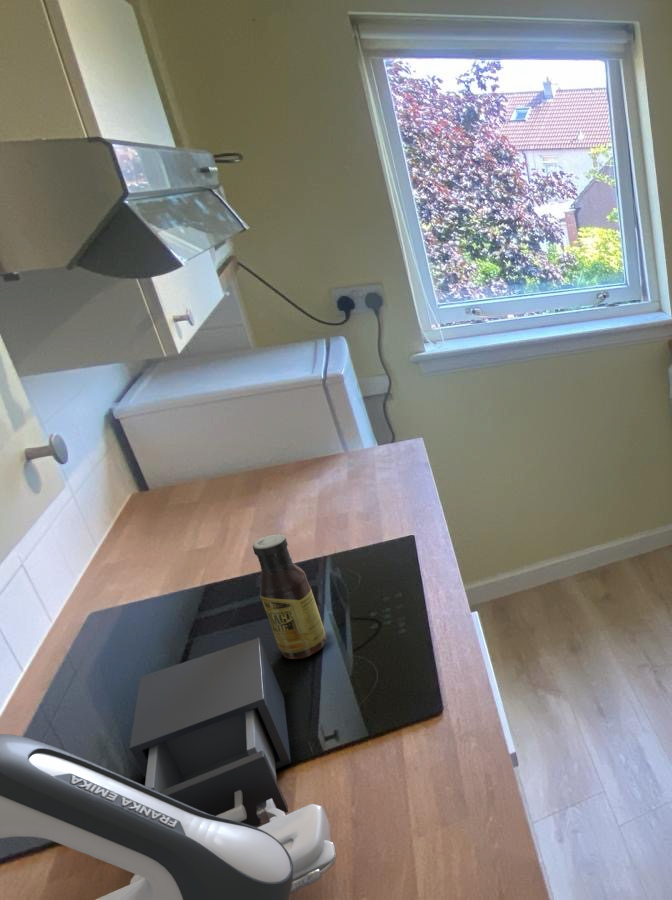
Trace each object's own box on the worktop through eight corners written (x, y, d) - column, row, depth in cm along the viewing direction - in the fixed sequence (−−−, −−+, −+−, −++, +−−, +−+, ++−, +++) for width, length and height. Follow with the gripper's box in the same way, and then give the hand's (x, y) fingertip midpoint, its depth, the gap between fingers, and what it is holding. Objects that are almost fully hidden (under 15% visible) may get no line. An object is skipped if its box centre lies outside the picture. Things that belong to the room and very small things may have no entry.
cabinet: (291, 763, 94) (263, 698, 90) (165, 815, 87) (128, 748, 83) (283, 697, 105) (259, 637, 101) (171, 739, 98) (139, 676, 94)
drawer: (290, 838, 83) (265, 781, 79) (161, 897, 77) (127, 839, 73) (281, 741, 96) (259, 688, 93) (170, 785, 90) (141, 731, 87)
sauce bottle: (273, 657, 113) (228, 547, 105) (309, 632, 119) (270, 526, 110) (303, 666, 111) (260, 555, 103) (339, 640, 117) (301, 533, 108)
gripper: (329, 847, 74) (316, 760, 84) (56, 977, 63) (79, 859, 73) (347, 889, 76) (332, 799, 87) (87, 1020, 65) (105, 900, 76)
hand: (214, 827), depth 80 cm, fingers open, 8 cm apart
